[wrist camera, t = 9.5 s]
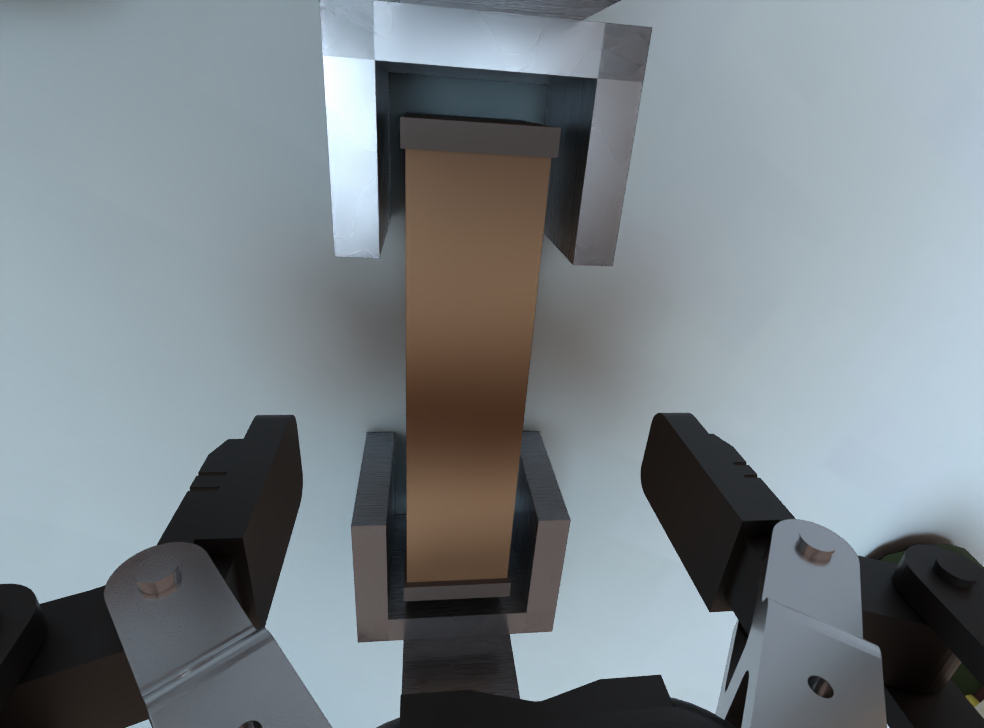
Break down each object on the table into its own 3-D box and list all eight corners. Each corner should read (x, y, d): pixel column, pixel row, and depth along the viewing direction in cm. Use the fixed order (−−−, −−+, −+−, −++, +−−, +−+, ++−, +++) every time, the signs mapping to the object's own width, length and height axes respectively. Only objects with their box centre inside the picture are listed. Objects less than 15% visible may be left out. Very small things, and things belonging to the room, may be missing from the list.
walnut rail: (406, 112, 16) (400, 117, 11) (521, 120, 16) (561, 127, 12) (407, 494, 22) (403, 601, 17) (491, 492, 22) (509, 596, 18)
